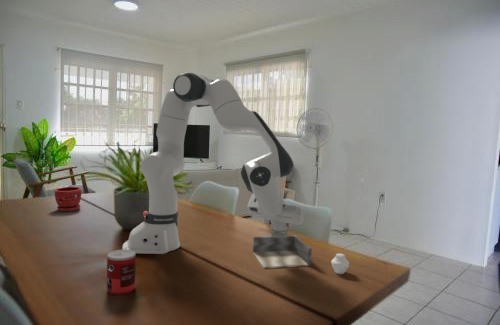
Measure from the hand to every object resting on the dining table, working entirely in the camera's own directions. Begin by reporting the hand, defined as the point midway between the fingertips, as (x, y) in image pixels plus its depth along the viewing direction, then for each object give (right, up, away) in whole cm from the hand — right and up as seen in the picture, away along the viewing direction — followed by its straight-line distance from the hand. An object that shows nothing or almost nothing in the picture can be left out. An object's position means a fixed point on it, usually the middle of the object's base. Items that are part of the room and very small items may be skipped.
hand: (280, 224), depth 132 cm
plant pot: (-113, -3, +62) cm, 129 cm away
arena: (0, -14, +2) cm, 14 cm away
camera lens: (0, -5, 0) cm, 5 cm away
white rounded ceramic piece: (+20, -16, -8) cm, 27 cm away
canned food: (-50, -15, -28) cm, 59 cm away
